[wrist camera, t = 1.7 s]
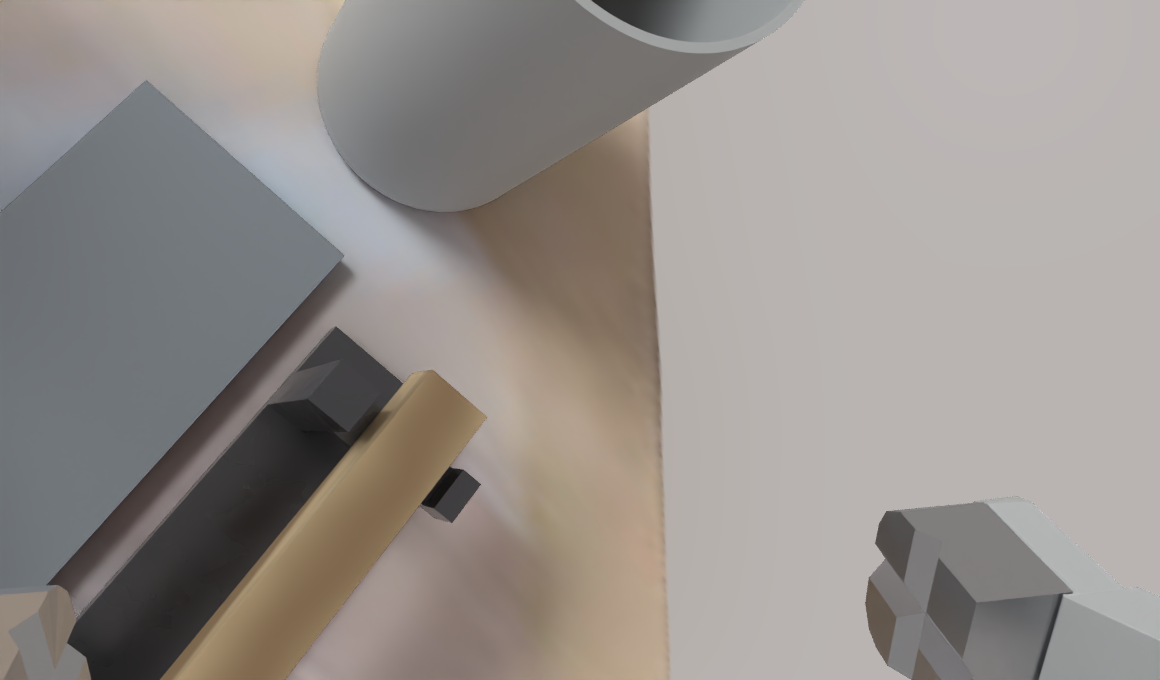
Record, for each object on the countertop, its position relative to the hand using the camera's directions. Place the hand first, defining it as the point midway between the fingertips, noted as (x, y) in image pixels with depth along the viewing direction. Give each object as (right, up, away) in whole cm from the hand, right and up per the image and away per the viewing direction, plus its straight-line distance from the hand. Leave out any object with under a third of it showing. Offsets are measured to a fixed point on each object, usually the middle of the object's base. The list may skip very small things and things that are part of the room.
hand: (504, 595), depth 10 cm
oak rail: (-12, -8, +28) cm, 31 cm away
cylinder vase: (-7, +16, +42) cm, 45 cm away
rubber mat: (-24, 0, +33) cm, 40 cm away
